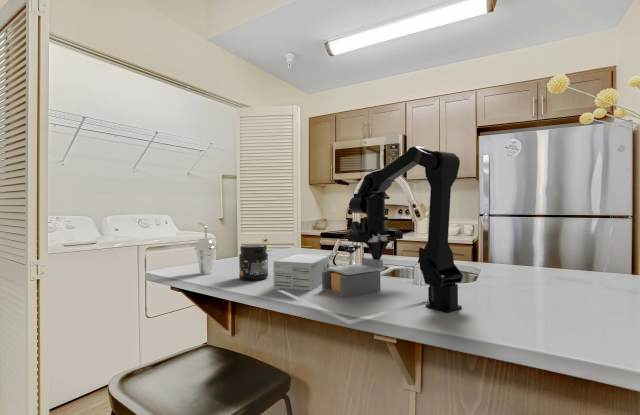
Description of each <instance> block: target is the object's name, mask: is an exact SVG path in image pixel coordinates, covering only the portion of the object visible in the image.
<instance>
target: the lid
mask: <svg viewBox="0 0 640 415" xmlns="http://www.w3.org/2000/svg"><path fill="white" fill-rule="evenodd" d="M327 270H330V271H334V272H338V273H341V274H345V275H352V274H359V273H365V272H372V271H383V270H386V267H385V266H384V262H383V260H382V259H380V260H378V259H373V257H367V256H366V257H365V256H364V257H361V262H360V263H355V264H351V265H347V264H344V265H339V266H331V267H329V268H327Z"/></svg>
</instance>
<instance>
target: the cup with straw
mask: <svg viewBox="0 0 640 415" xmlns="http://www.w3.org/2000/svg"><path fill="white" fill-rule="evenodd" d="M198 225H200V226H201V227H202V226H203V227H204V238H202V239H200V240H199V241H198V242H197V243H196V246H195V247H194V249H193V250H194V251H196V256H197V260H198V270H199V275H202V274H206V275H211V274H213V272H212V271H213V269H214V268H213V266H214V257H215V252H216V251H215V250H216V249H217V246H216V245H215V242H214V241H213V240H212V239H210V238H208V234H207V233H208V231H207V230H208V228H207V225H206V224H204V223H201V222H198ZM210 273H211V274H210Z"/></svg>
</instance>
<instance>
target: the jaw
mask: <svg viewBox="0 0 640 415" xmlns="http://www.w3.org/2000/svg"><path fill="white" fill-rule="evenodd" d="M341 276H347V275H345V274H341V273H338V272H335V273H331V290H333V291H336V292H339V293H340V277H341Z"/></svg>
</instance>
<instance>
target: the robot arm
mask: <svg viewBox="0 0 640 415" xmlns="http://www.w3.org/2000/svg"><path fill="white" fill-rule="evenodd" d="M460 161H461V160H460V158H459V157H458V156H457V155H456V153H453V152H448V151H447V152H446V151H437V150H434V151H433V150H430V149H427V148H426V147H422V146H415V145H414V146H412V147H411V146H410V147H409V148H408V149H407V151H406V152H404V153H403V154H401V155H400V156H399V157H397V158H396V159H394V160H393V161H392V162H390V163H389V164H388V165H387V166H385V167H383V168H381V169H379V170H375V171H372V172H369V173H368V174H365V176H364V177H363V180H362V182H361V185H360V186H359V188H358V190H357V193H353V197H352V198H350V200H349V202H348V208H349V211H350V212H351V213H352V214H366V216H364V217H363V222H359V221H357V220H356V221H352V222H351V224H350V229H351V231H350V232H349V233H348V234H347V242H353V243H358V244H359V243H360V244H361V243H363V244H365V245H367V248H368V250H369V251H370V252H369V253H370V254H371V258H373V259H378V260H381V259H382V258H381V257H382V256H383V254H384V252H385V249H386V248H387V246H388V245H389V244H391V240H388V239H389V238H392V239H396V240H403V239H404V235H403V234H404V233H403V232H402V230H401V229H386V221H388V220H389V218H388V216H386V205H385V204H386V202H385V201H386V200H390V198H391V197H390V196H389V195H388V194H387V193H386V191H387V190H388V189H389V188H390V187H391V186H392V184H393V182H394V181H395V180H396V179H398V178H400V177H401V176H402V175H404V174H405V173H407V172H408V171H410V170H412V169H413V168H414V167H416V166H421V167H423V168H424V173H425V178H426V180H427V181H428V182H427V183H428V184H429V186H430V195H429V210H428V211H429V213H428V217H429V218H428V230H427V231H428V232H427V234H428V236H427V241H426V244H425V246H421V247H419V248H418V260H417V263H418V264H419V269H420V271H421V274H422V277H423V279H424V280H423V281H424V283H425V285H428V291H427V292H428V295H427V297H428V299H427V300H428V303H425V307H426V308H427V307H428V308H431V309H434V310H438V311H441V312H444V313H449V312H453V311H456V310H459V309H462V307H463V306H462V305H460V304H459V294H458V293H459V292H458V291H459V290H458V288H459V287H458V286H459V285H458V284H460V283H462V281H463V278H464V274H463V273H462V272H461V270H460V269H459V268H458V266H456V264H455V263H454V262H455V261H454V253H453V251H452V249H451V246H450V244H449V232H450V231H449V228H450V213H451V211H450V210H451V193H452V186H453V185H454V182H455V181H456V179H457V178H458V176H459V175H458V174H459V170H460V165H461V164H460Z"/></svg>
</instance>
